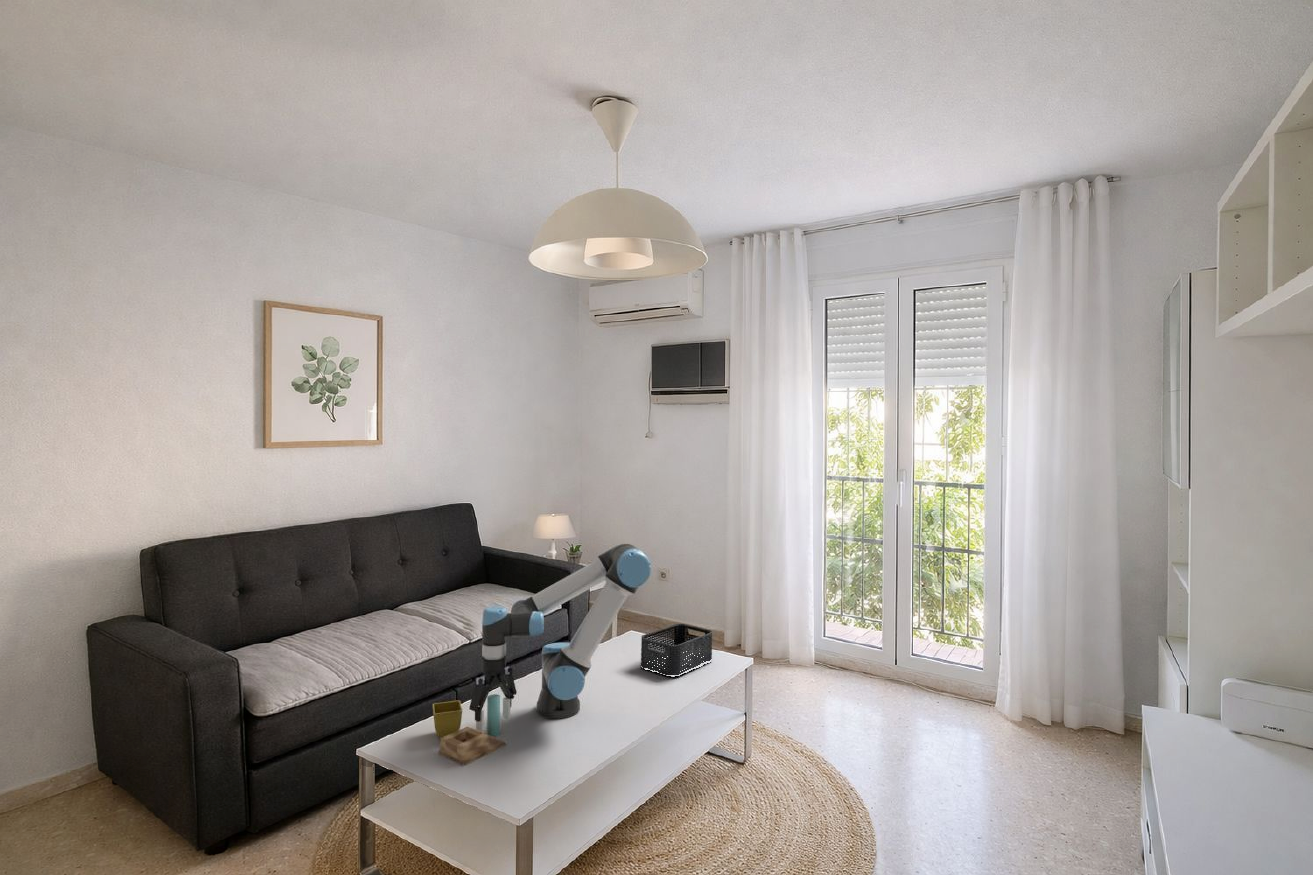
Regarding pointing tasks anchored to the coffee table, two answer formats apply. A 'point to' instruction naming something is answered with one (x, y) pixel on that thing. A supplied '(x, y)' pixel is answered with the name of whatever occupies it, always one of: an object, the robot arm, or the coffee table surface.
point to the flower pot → (447, 717)
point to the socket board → (468, 745)
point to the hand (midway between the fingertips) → (493, 724)
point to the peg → (493, 715)
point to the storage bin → (675, 649)
